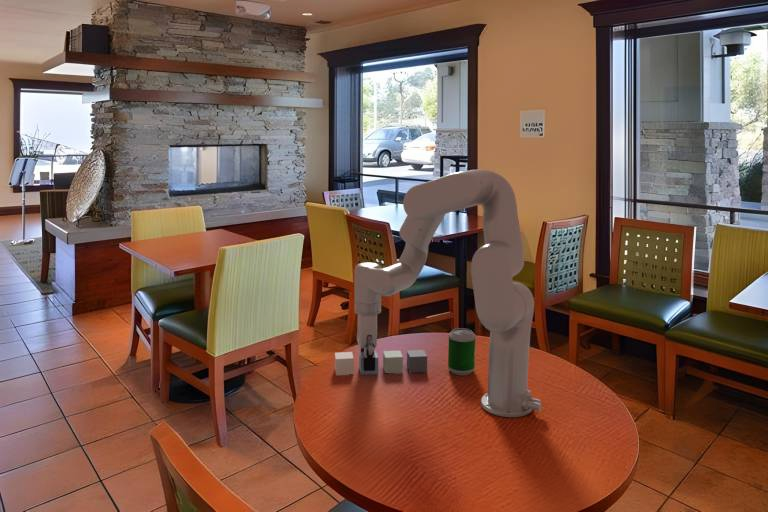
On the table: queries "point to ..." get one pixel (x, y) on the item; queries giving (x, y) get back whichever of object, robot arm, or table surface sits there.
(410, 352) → the charcoal block
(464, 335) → the soda can
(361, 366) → the slate block
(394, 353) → the sage block
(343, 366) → the cream block
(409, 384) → the table surface
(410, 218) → the robot arm
